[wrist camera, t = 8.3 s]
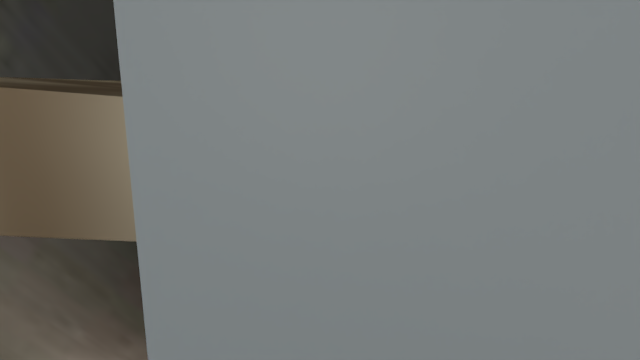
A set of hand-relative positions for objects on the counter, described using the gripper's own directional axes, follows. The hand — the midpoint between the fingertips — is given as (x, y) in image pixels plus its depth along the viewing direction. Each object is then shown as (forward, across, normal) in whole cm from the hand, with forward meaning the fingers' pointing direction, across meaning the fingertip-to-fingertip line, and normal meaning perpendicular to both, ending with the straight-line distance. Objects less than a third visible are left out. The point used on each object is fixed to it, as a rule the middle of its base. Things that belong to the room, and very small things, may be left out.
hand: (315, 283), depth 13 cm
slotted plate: (+2, 0, +6) cm, 6 cm away
